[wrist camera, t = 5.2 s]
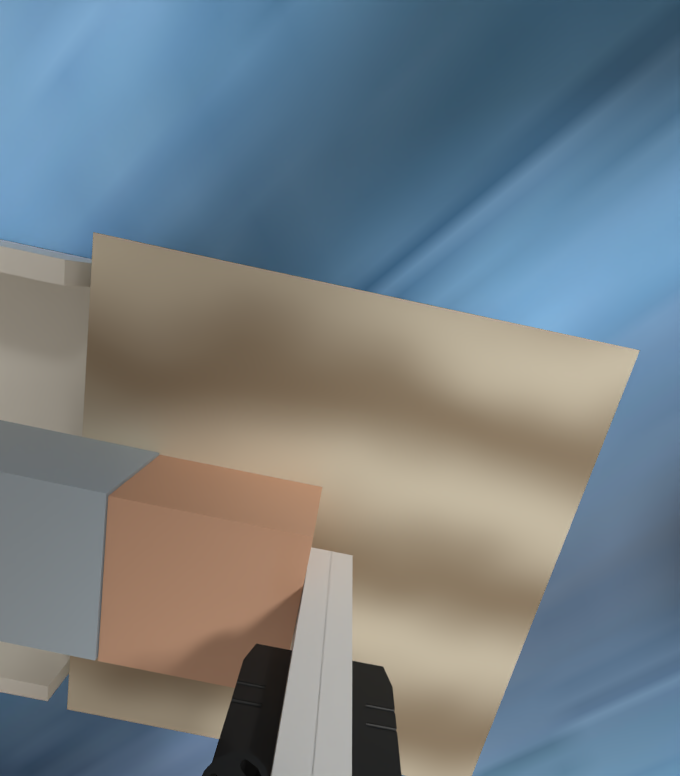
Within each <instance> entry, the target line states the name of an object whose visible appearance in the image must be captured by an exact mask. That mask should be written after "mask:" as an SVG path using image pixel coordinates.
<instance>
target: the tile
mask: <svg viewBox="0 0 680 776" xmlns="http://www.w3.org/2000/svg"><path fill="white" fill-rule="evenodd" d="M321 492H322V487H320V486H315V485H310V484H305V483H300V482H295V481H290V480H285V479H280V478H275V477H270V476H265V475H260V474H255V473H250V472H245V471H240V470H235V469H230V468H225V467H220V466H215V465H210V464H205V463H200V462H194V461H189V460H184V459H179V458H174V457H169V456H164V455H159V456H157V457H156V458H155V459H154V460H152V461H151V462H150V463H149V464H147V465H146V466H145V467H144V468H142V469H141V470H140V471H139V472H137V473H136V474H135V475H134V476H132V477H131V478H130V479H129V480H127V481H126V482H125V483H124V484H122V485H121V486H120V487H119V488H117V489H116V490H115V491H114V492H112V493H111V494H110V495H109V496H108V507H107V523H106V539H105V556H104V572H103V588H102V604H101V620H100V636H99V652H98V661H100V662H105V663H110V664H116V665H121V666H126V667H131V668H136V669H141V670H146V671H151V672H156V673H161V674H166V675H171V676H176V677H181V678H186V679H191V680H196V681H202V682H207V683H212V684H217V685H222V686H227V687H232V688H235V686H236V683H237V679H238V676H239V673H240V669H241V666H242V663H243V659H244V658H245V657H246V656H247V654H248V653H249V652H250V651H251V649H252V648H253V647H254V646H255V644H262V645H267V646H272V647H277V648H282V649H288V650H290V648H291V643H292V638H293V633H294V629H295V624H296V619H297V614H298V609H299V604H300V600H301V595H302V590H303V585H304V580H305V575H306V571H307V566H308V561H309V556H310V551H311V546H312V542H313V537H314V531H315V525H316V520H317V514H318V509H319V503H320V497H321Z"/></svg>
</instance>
